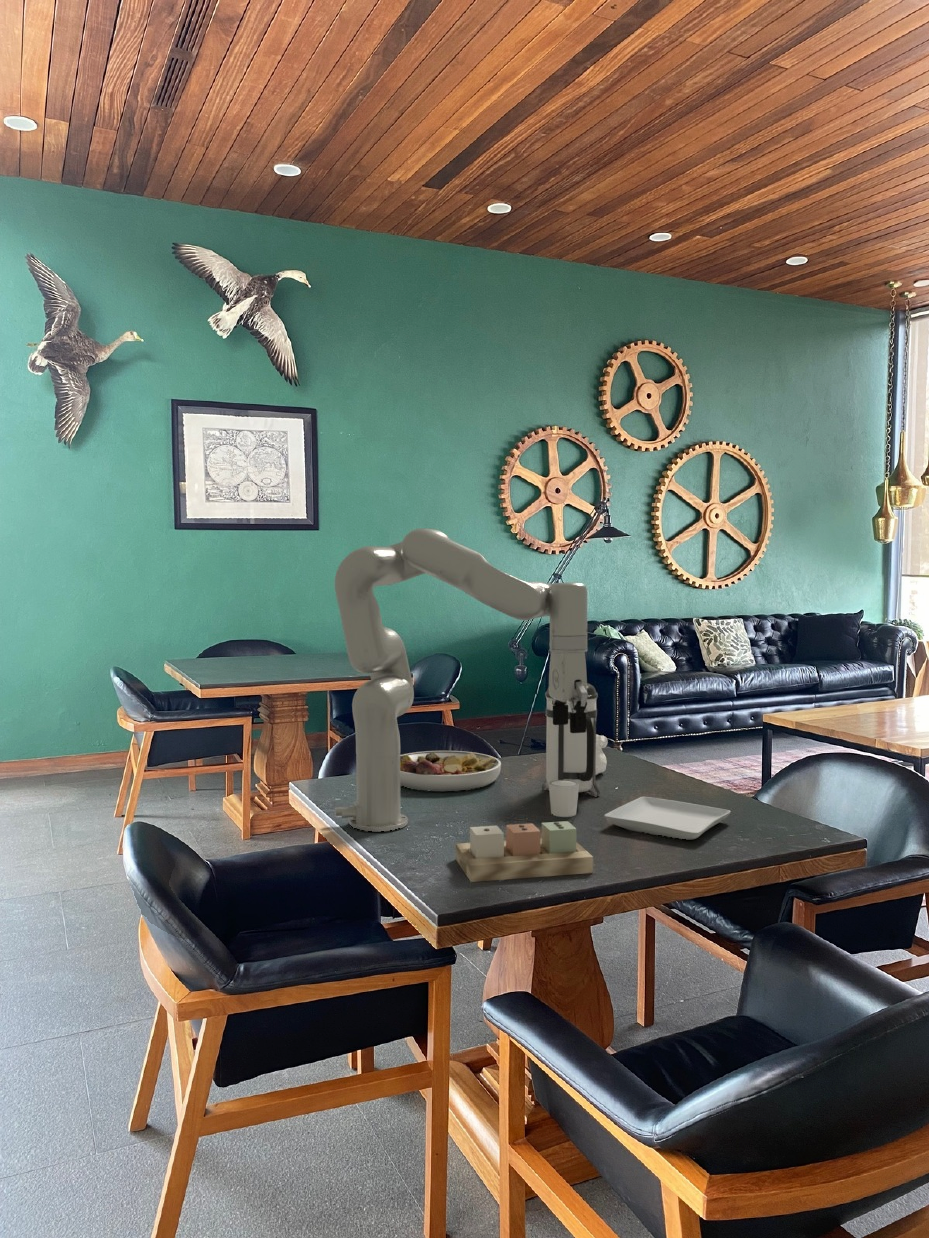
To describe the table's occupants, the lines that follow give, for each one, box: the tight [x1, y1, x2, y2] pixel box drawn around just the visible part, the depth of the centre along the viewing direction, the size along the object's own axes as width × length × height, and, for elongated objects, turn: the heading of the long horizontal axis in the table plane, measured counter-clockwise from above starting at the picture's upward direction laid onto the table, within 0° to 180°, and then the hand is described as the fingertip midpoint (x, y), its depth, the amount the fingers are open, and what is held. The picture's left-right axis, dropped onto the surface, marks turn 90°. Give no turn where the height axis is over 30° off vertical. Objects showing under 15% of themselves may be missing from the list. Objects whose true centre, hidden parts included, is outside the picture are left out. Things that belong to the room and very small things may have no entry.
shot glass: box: [548, 780, 579, 818], centre depth 211 cm, size 7×7×7 cm
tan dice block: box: [505, 823, 542, 856], centre depth 175 cm, size 5×5×5 cm
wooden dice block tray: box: [455, 839, 594, 883], centre depth 175 cm, size 23×13×3 cm, turn 102°
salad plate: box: [603, 796, 731, 841], centre depth 201 cm, size 21×21×3 cm
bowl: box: [400, 750, 502, 792], centre depth 243 cm, size 30×30×8 cm
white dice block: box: [469, 825, 505, 859], centre depth 173 cm, size 5×5×5 cm
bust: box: [595, 734, 609, 776], centre depth 252 cm, size 12×8×11 cm
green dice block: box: [541, 820, 578, 854], centre depth 176 cm, size 5×5×5 cm
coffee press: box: [541, 682, 601, 798], centre depth 227 cm, size 17×16×30 cm
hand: (569, 728), depth 188 cm, fingers open, 9 cm apart
